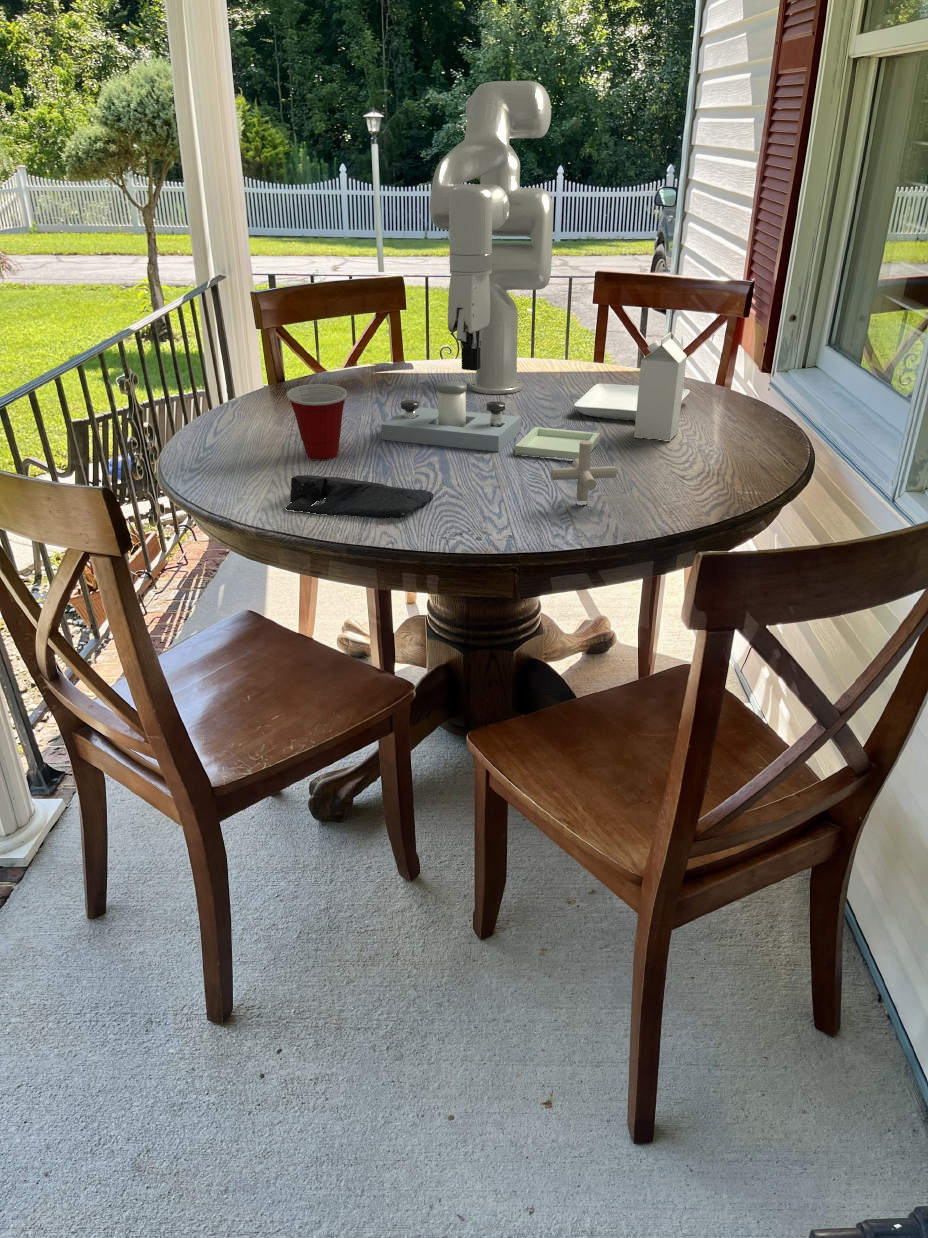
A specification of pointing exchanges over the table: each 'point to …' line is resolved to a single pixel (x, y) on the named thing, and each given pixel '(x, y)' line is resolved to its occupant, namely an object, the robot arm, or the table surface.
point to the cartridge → (452, 403)
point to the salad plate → (612, 401)
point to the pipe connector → (583, 472)
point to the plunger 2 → (495, 412)
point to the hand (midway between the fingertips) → (471, 368)
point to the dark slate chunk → (353, 497)
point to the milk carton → (660, 390)
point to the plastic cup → (319, 418)
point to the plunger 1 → (410, 408)
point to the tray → (554, 443)
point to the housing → (452, 430)
